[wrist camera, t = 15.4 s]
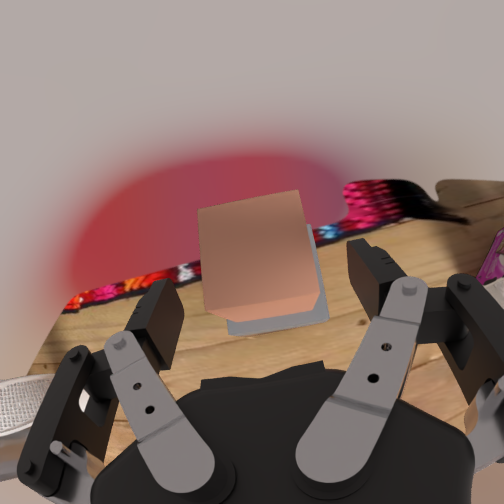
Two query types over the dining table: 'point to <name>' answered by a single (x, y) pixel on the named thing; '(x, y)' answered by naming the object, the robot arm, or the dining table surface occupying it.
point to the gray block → (290, 320)
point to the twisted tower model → (25, 401)
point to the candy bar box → (494, 269)
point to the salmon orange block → (257, 258)
